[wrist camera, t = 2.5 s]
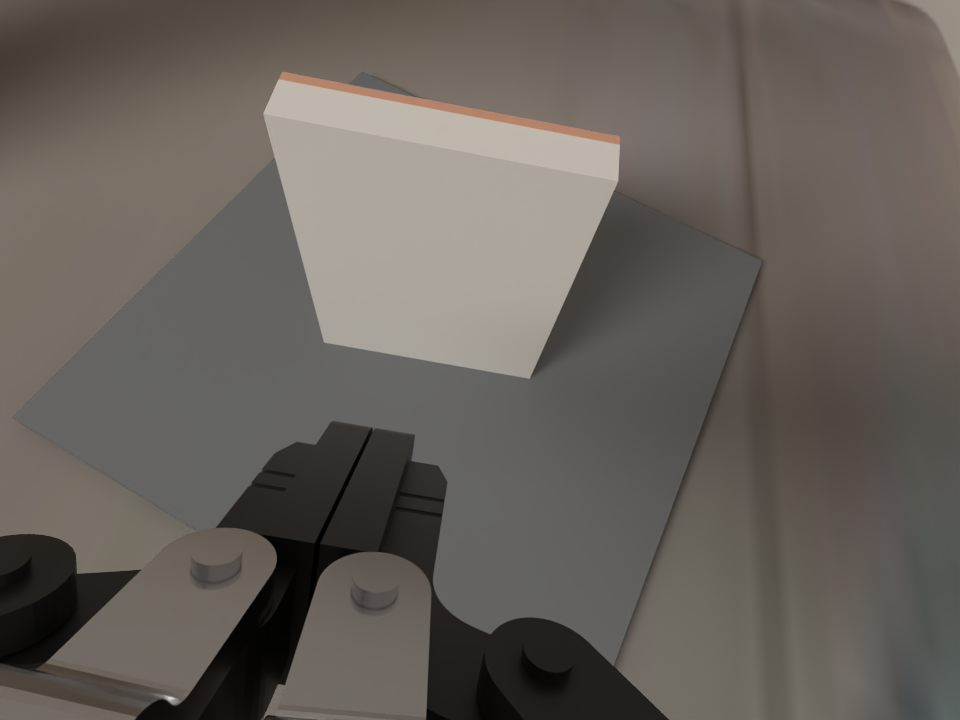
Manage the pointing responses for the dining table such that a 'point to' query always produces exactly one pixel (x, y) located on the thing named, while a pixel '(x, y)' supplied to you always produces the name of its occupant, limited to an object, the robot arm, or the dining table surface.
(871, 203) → the dining table surface
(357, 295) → the tile
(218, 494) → the mat
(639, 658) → the dining table surface
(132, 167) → the dining table surface
